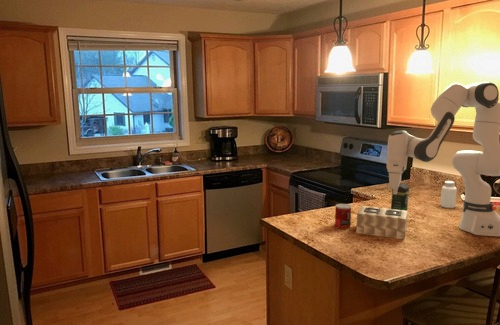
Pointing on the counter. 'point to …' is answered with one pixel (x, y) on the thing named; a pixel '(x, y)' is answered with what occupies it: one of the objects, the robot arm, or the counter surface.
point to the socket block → (381, 222)
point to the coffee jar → (400, 198)
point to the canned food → (343, 216)
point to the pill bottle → (448, 195)
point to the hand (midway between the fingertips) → (395, 193)
